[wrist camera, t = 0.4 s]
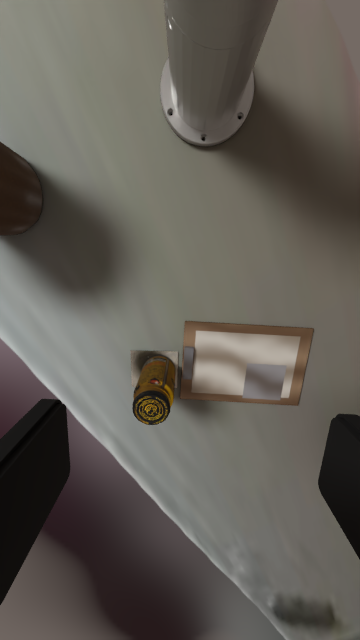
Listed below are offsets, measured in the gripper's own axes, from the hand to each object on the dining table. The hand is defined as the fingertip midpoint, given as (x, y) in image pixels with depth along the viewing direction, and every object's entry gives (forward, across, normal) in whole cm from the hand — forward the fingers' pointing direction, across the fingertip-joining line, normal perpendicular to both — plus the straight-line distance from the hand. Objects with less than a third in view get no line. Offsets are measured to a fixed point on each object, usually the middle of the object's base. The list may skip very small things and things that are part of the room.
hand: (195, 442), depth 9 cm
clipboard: (+35, -11, +12) cm, 38 cm away
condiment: (+35, +5, +14) cm, 38 cm away
